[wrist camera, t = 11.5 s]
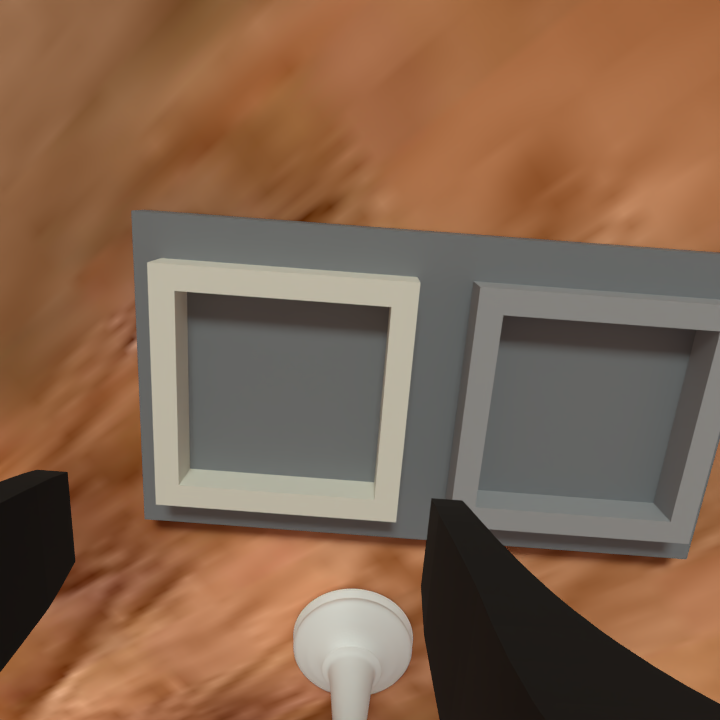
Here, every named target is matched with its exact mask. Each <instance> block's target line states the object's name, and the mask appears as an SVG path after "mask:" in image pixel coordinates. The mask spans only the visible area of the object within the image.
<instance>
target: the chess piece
mask: <svg viewBox="0 0 720 720" xmlns="http://www.w3.org/2000/svg"><path fill="white" fill-rule="evenodd" d="M293 640H294V643H293V649H294V656H295V660H296V662H297V665H298V666H299V668H300V670H301V671H302V673H303V674H304V675H305V676H306V677H307V678H308V679H309V680H310V681H311V682H312V683H313V684H315V685H316V686H318V687H320V688H321V689H323V690H325V691H328V692H331V705H332V720H367V716H368V709H369V702H370V695H371V694H374V693H377V692H380V691H382V690H384V689H386V688H388V687H390V686H391V685H393V684H394V683H395V682H396V681H397V680H398V679H399V678H400V677H401V676H402V675H403V674H404V672H405V671H406V669H407V667H408V665H409V663H410V660H411V655H412V644H413V632H412V627H411V625H410V622H409V620H408V618H407V616H406V615H405V613H404V612H403V611H402V610H401V608H400V607H399V606H398V605H396V604H395V603H394V602H393V601H391V600H390V599H388V598H386V597H385V596H383V595H380V594H378V593H375V592H372V591H368V590H363V589H341V590H335V591H332V592H329V593H326V594H324V595H321V596H319V597H318V598H316V599H314V600H313V601H312V602H310V603H309V604H308V605H307V606H306V607H305V608H304V609H303V610H302V612H301V613H300V615H299V616H298V618H297V620H296V623H295V626H294V632H293Z"/></svg>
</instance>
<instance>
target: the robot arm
mask: <svg viewBox="0 0 720 720" xmlns="http://www.w3.org/2000/svg"><path fill="white" fill-rule="evenodd" d="M74 563H75V552H74V541H73V529H72V518H71V507H70V496H69V484H68V473H67V472H59V471H45V470H35V471H31V472H27V473H24V474H21V475H18V476H15V477H12V478H9V479H6V480H4V481H1V482H0V672H1V670H2V669H3V668H4V667H5V665H6V664H7V663H8V661H9V660H10V659H11V657H12V656H13V655H14V654H15V652H16V651H17V650H18V648H19V647H20V646H21V644H22V643H23V642H24V640H25V639H26V638H27V636H28V635H29V634H30V632H31V631H32V630H33V628H34V627H35V626H36V624H37V623H38V622H39V620H40V619H41V618H42V616H43V615H44V614H45V612H46V611H47V610H48V608H49V607H50V605H51V603H52V602H53V600H54V598H55V597H56V595H57V593H58V592H59V590H60V588H61V587H62V585H63V583H64V581H65V579H66V577H67V576H68V574H69V572H70V570H71V568H72V566H73V565H74ZM421 593H422V610H423V625H424V636H425V642H426V648H427V653H428V659H429V665H430V670H431V676H432V681H433V686H434V692H435V697H436V702H437V708H438V713H439V719H440V720H720V704H719V703H717V702H715V701H713V700H711V699H710V698H708V697H706V696H704V695H702V694H701V693H699V692H697V691H695V690H693V689H691V688H690V687H688V686H686V685H684V684H683V683H681V682H679V681H678V680H676V679H674V678H673V677H671V676H669V675H668V674H666V673H664V672H662V671H661V670H659V669H658V668H656V667H654V666H653V665H651V664H650V663H648V662H647V661H645V660H644V659H642V658H641V657H639V656H637V655H636V654H634V653H633V652H631V651H630V650H628V649H627V648H625V647H624V646H622V645H621V644H619V643H618V642H616V641H615V640H613V639H612V638H611V637H609V636H608V635H606V634H605V633H603V632H602V631H601V630H599V629H598V628H597V627H595V626H594V625H593V624H591V623H590V622H589V621H587V620H586V619H585V618H584V617H582V616H581V615H580V614H578V613H577V612H576V611H574V610H573V609H572V608H571V607H569V606H568V605H567V604H566V603H564V602H563V601H562V600H561V599H560V598H558V597H557V596H556V595H555V594H554V593H553V592H552V591H550V590H549V589H548V588H547V587H546V586H545V585H544V584H543V583H542V582H540V581H539V580H538V579H537V578H536V577H535V576H534V575H533V574H532V573H531V572H530V571H528V570H527V569H526V568H525V567H524V566H523V565H522V564H521V563H520V562H519V561H518V560H517V559H516V558H515V557H514V556H513V555H512V554H511V553H510V552H509V551H508V550H507V549H506V548H505V547H504V545H503V544H502V543H501V542H500V541H499V540H498V539H497V538H496V537H495V536H494V535H493V534H492V533H491V532H490V530H489V529H488V528H487V527H486V526H485V525H484V524H483V523H482V522H481V520H480V519H479V518H478V517H477V516H476V515H475V514H474V513H473V511H472V510H471V509H470V508H469V507H468V506H467V505H466V504H465V503H464V502H463V501H462V500H450V499H436V498H431V506H430V515H429V523H428V532H427V540H426V549H425V557H424V566H423V574H422V583H421Z"/></svg>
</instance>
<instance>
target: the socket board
mask: <svg viewBox="0 0 720 720" xmlns="http://www.w3.org/2000/svg"><path fill="white" fill-rule="evenodd" d="M131 212H132V235H133V258H134V282H135V305H136V328H137V351H138V374H139V397H140V421H141V444H142V467H143V490H144V513H145V519H151V520H164V521H178V522H191V523H205V524H218V525H232V526H245V527H259V528H272V529H286V530H299V531H313V532H326V533H340V534H353V535H367V536H380V537H394V538H407V539H421V540H427V532H428V523H429V515H430V506H431V498H436V499H450V500H462V501H463V502H464V503H465V504H466V505H467V506H468V507H469V508H470V509H471V510H472V511H473V513H474V514H475V515H476V516H477V517H478V518H479V519H480V520H481V522H482V523H483V524H484V525H485V526H486V527H487V528H488V529H489V530H490V532H491V533H492V534H493V535H494V536H495V537H496V538H497V539H498V540H499V541H500V542H501V543H502V544H503V545H504V546H515V547H528V548H542V549H555V550H569V551H582V552H596V553H609V554H623V555H636V556H650V557H663V558H677V559H687V555H688V552H689V548H690V544H691V541H692V537H693V534H694V530H695V526H696V523H697V519H698V516H699V512H700V508H701V505H702V501H703V497H704V494H705V490H706V487H707V483H708V479H709V476H710V472H711V468H712V465H713V461H714V458H715V454H716V450H717V447H718V443H719V440H720V253H717V252H703V251H690V250H677V249H663V248H650V247H636V246H623V245H609V244H596V243H582V242H569V241H556V240H542V239H529V238H515V237H502V236H488V235H475V234H461V233H448V232H434V231H421V230H408V229H394V228H381V227H367V226H354V225H340V224H327V223H313V222H300V221H287V220H273V219H260V218H246V217H233V216H219V215H206V214H192V213H179V212H165V211H152V210H135V211H131Z"/></svg>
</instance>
